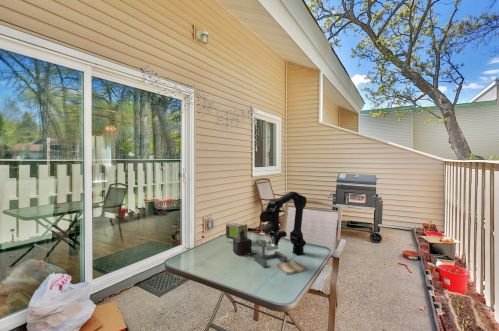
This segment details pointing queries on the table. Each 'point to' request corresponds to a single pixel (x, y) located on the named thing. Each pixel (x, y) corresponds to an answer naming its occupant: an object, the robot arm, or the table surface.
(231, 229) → the tea box
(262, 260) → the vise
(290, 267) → the board
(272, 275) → the table surface
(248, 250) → the potted plant
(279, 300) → the table surface
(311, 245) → the table surface
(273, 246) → the brushed metal step block
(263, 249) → the mechanical component
